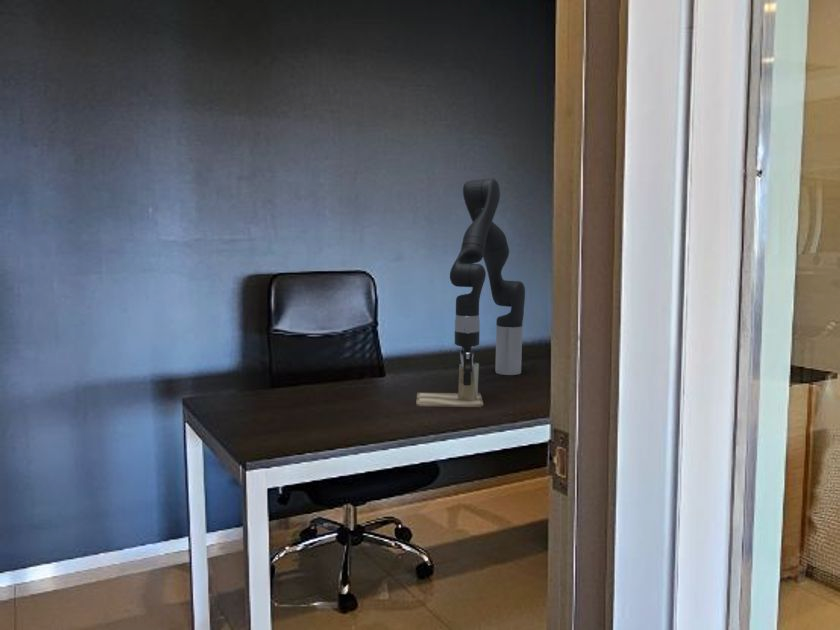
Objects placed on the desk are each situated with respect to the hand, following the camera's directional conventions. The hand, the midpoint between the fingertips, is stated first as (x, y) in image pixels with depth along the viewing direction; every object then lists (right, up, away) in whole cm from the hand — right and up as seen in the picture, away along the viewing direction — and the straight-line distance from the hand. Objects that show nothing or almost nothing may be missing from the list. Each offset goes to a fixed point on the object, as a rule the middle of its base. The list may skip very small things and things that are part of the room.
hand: (466, 381), depth 225 cm
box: (+1, -6, +1) cm, 6 cm away
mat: (-5, -6, +1) cm, 8 cm away
